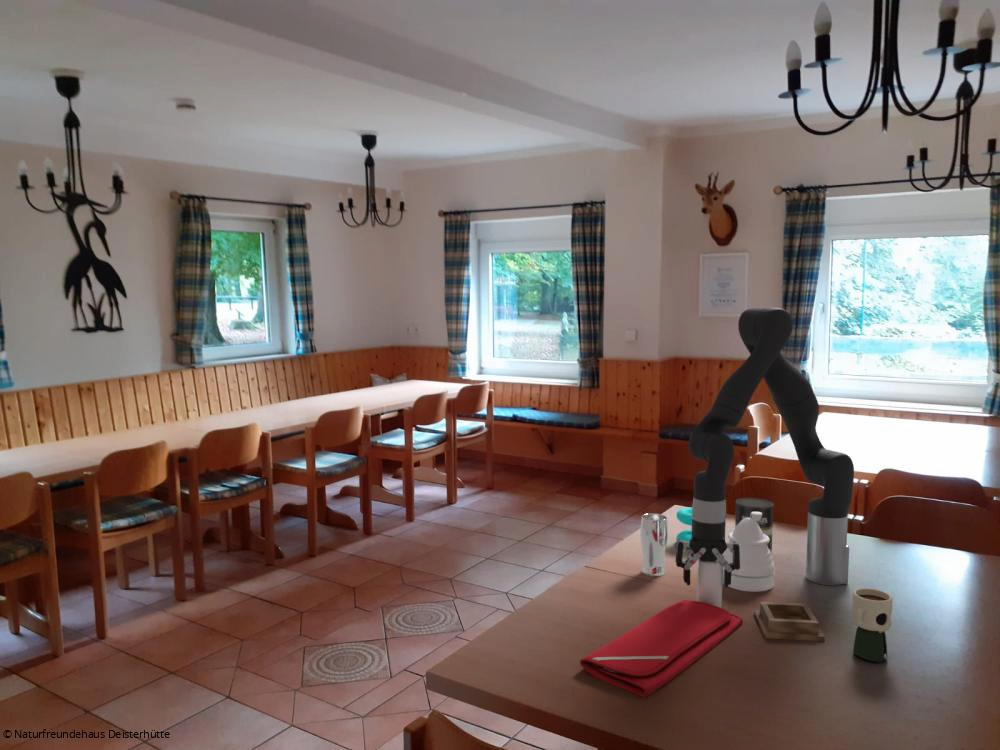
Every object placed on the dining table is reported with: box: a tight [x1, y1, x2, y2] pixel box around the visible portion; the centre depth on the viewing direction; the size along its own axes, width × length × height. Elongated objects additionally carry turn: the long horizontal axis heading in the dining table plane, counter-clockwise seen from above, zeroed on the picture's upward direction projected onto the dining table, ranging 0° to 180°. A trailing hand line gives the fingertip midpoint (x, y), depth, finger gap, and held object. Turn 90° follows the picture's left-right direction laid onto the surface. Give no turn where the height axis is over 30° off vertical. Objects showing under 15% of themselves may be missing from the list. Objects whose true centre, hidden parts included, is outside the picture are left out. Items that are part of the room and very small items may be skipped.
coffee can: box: [734, 497, 775, 556], centre depth 213 cm, size 10×10×14 cm
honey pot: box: [722, 512, 775, 593], centre depth 190 cm, size 13×13×18 cm
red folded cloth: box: [579, 599, 744, 698], centre depth 157 cm, size 16×41×4 cm, turn 138°
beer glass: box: [640, 513, 669, 577], centre depth 197 cm, size 7×7×15 cm
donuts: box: [675, 506, 692, 549], centre depth 219 cm, size 10×10×10 cm
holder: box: [753, 601, 826, 642], centre depth 165 cm, size 12×12×4 cm
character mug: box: [851, 587, 893, 662], centre depth 151 cm, size 11×7×13 cm, turn 126°
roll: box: [696, 559, 724, 608], centre depth 176 cm, size 6×6×11 cm
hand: (706, 585), depth 175 cm, fingers open, 8 cm apart
